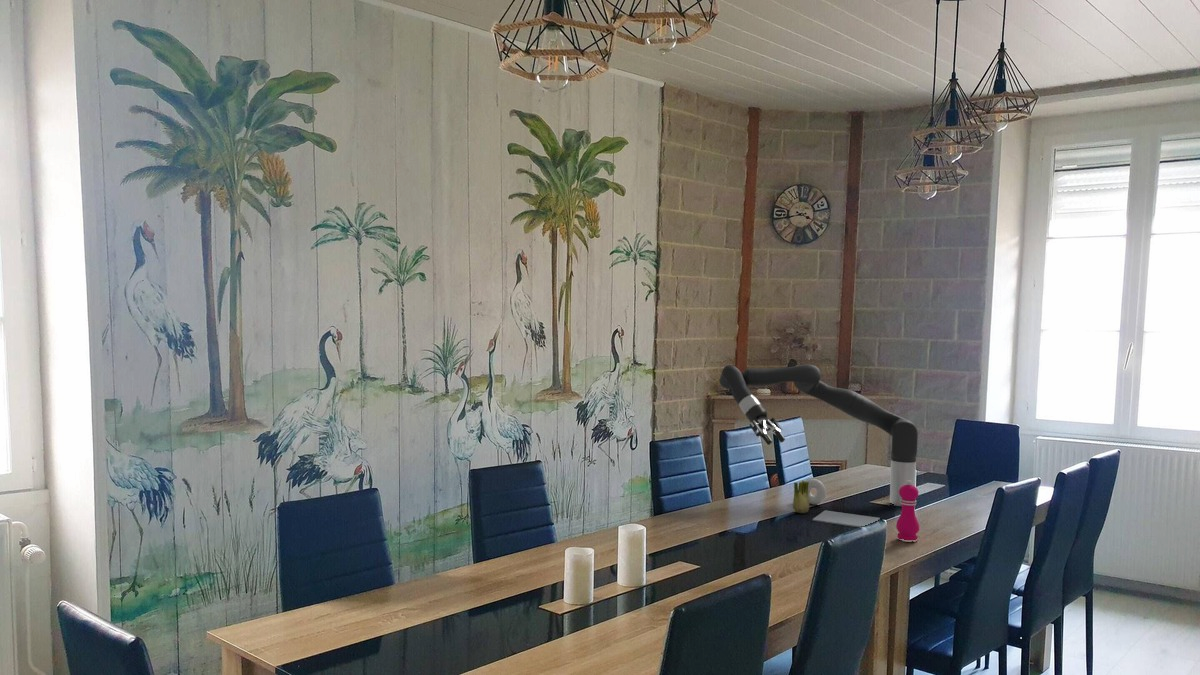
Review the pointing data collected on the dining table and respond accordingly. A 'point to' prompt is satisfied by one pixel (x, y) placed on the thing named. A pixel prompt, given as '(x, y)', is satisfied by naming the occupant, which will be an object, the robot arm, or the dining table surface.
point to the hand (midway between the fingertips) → (776, 442)
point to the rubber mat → (844, 519)
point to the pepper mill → (908, 513)
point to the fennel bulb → (801, 497)
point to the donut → (820, 491)
